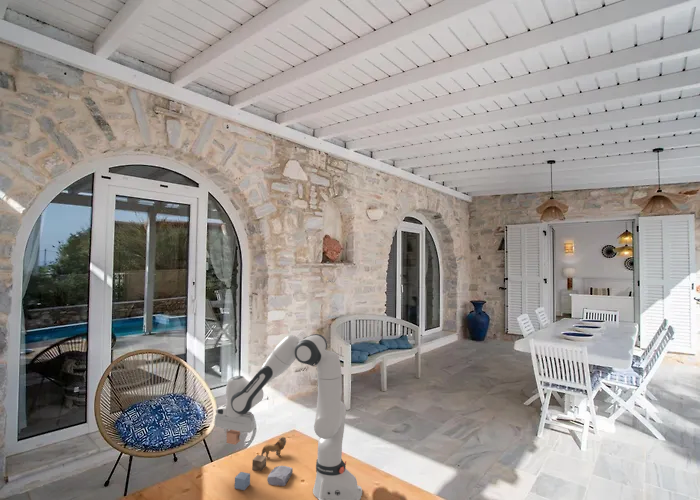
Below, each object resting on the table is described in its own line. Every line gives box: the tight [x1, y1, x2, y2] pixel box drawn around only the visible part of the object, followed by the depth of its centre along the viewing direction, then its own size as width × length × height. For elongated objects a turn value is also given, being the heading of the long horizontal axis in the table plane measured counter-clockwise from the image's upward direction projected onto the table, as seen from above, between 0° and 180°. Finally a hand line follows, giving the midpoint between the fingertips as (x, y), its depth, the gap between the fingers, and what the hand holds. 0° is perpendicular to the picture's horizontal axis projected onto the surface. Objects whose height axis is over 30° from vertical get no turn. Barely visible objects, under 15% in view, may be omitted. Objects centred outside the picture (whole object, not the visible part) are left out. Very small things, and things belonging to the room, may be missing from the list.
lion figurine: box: [260, 436, 287, 460], centre depth 208 cm, size 15×5×9 cm, turn 124°
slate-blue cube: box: [234, 471, 251, 491], centre depth 181 cm, size 5×5×5 cm
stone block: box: [266, 465, 294, 487], centre depth 188 cm, size 12×5×10 cm
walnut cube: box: [251, 454, 267, 472], centre depth 197 cm, size 5×5×5 cm
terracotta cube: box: [226, 429, 242, 446], centre depth 192 cm, size 5×5×5 cm
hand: (233, 438), depth 192 cm, fingers closed on terracotta cube, 5 cm apart
